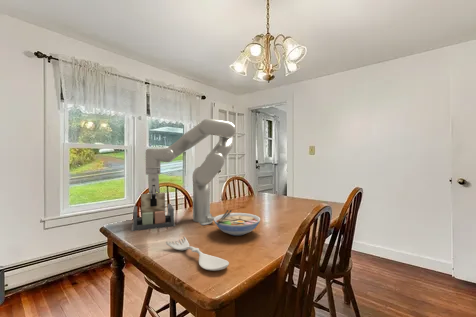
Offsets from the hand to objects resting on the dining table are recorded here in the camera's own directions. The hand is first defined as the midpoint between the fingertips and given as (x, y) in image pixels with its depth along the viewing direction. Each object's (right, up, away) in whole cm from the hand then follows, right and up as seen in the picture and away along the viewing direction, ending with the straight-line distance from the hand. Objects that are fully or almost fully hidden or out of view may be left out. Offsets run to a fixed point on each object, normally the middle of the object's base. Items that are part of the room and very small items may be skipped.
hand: (153, 204), depth 126 cm
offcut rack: (+1, -11, -3) cm, 12 cm away
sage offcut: (-1, -10, -6) cm, 12 cm away
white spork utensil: (+30, -12, -39) cm, 51 cm away
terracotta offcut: (+5, -10, -4) cm, 12 cm away
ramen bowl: (+45, -12, -12) cm, 48 cm away
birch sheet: (0, -10, 0) cm, 10 cm away
